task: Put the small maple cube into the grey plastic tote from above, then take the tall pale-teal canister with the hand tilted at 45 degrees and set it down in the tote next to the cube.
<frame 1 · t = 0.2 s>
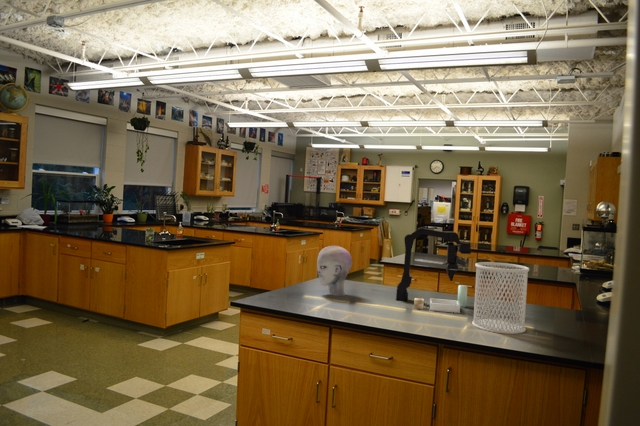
hand: (450, 279, 275), 14 cm above the counter, tool pointing down, fingers open, 9 cm apart
sculpture: (332, 294, 288), on the counter
tote: (444, 308, 262), on the counter
cube: (418, 308, 261), on the counter
canister: (461, 306, 270), on the counter
wastebasket: (498, 327, 228), on the counter
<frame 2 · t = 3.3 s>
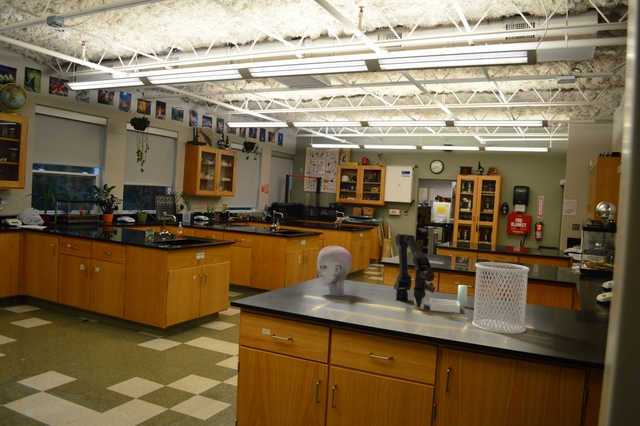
hand: (418, 306, 261), 1 cm above the counter, tool pointing down, fingers closed on cube, 5 cm apart
cube: (418, 307, 261), on the counter, touching gripper
everything else where it was.
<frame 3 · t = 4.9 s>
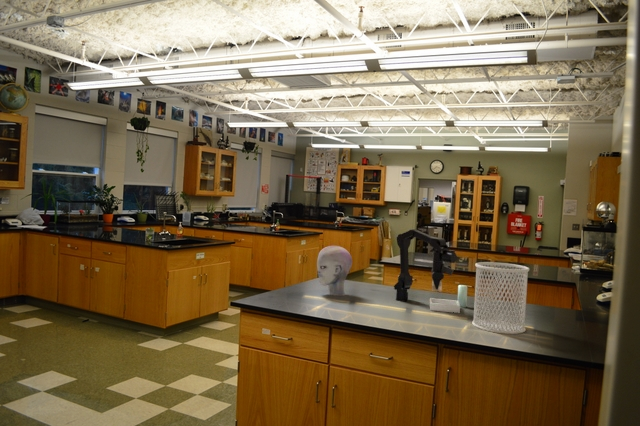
hand: (436, 288, 262), 11 cm above the counter, tool pointing down, fingers closed on cube, 5 cm apart
cube: (436, 290, 262), point 10 cm above the counter, touching gripper
everything else where it was.
when the fingers open (4 cm above the counter, at t = 6.5 s): cube drops 3 cm, resting on tote.
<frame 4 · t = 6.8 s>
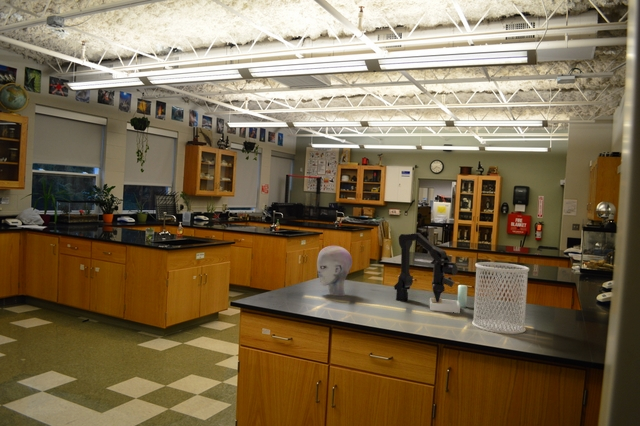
hand: (437, 300, 262), 4 cm above the counter, tool pointing down, fingers open, 8 cm apart
cube: (436, 306, 262), point 1 cm above the counter, touching tote
everything else where it was.
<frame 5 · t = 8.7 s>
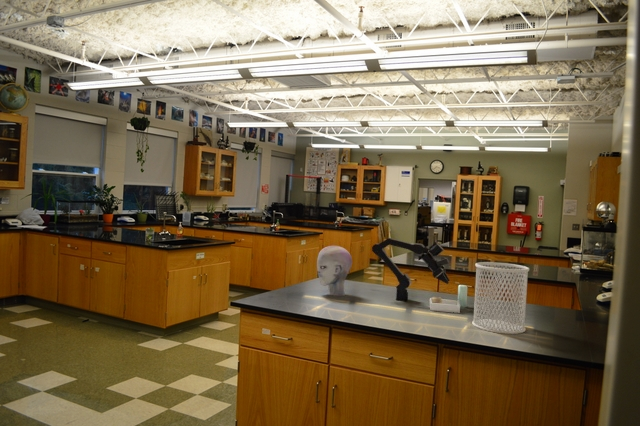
hand: (448, 282, 272), 13 cm above the counter, tool tilted 45°, fingers open, 9 cm apart
nothing on the counter moved.
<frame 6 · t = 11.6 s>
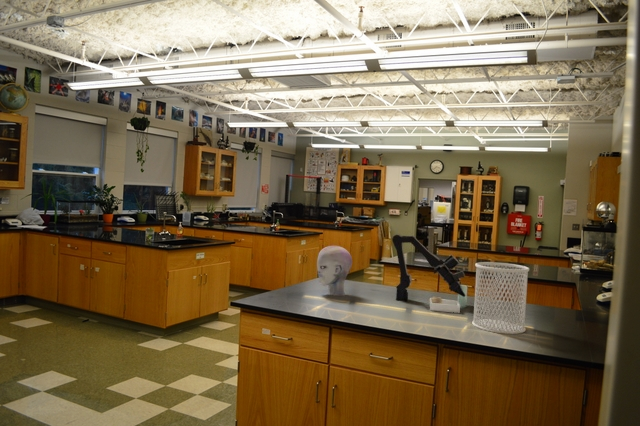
hand: (464, 295, 270), 7 cm above the counter, tool tilted 45°, fingers closed on canister, 5 cm apart
canister: (461, 306, 270), on the counter, touching gripper
everything else where it was.
when the fingers open (9 cm above the counter, at t = 15.2 s): canister drops 2 cm, resting on tote.
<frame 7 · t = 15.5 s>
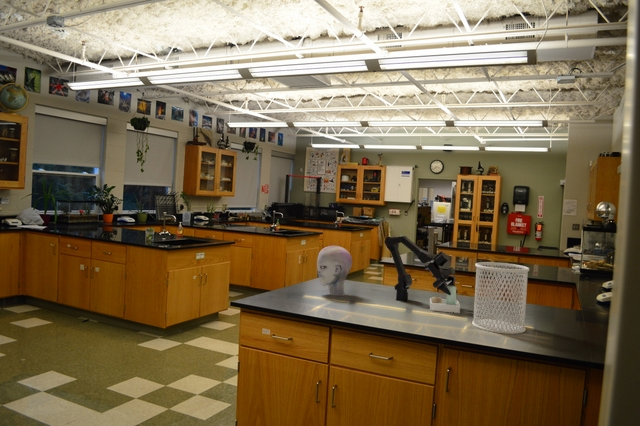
hand: (453, 293, 260), 9 cm above the counter, tool tilted 45°, fingers open, 8 cm apart
canister: (450, 308, 261), point 1 cm above the counter, touching tote
everything else where it was.
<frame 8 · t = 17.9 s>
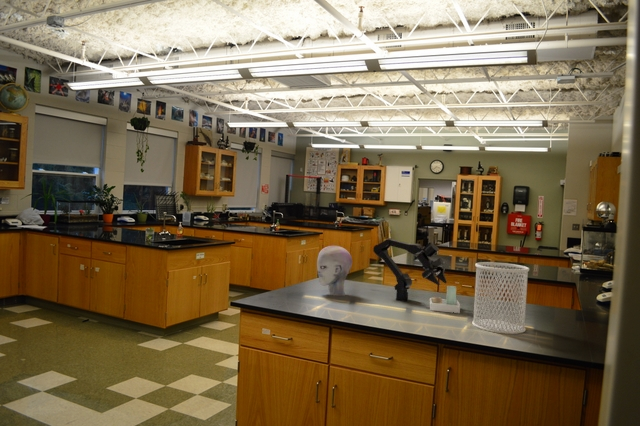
hand: (442, 283, 264), 14 cm above the counter, tool tilted 45°, fingers open, 9 cm apart
nothing on the counter moved.
at the end: cube inside the target area on the tote (4.0 cm from its centre), point 0.8 cm above the tote's base; canister inside the target area on the tote (3.4 cm from its centre), point 0.8 cm above the tote's base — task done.
